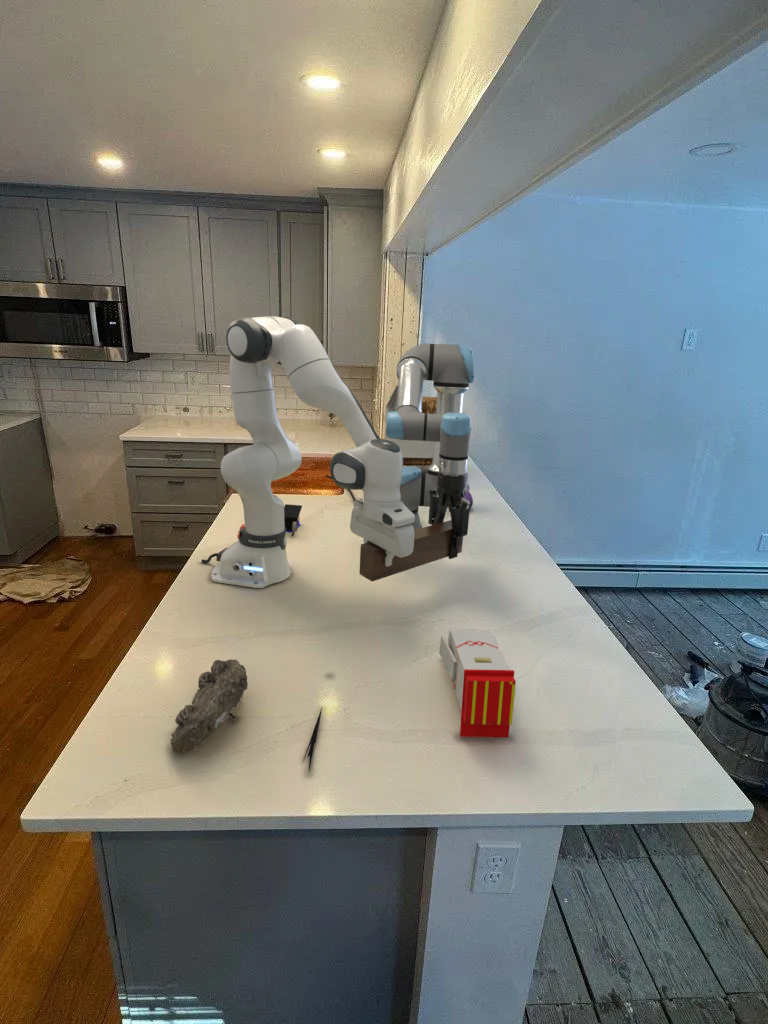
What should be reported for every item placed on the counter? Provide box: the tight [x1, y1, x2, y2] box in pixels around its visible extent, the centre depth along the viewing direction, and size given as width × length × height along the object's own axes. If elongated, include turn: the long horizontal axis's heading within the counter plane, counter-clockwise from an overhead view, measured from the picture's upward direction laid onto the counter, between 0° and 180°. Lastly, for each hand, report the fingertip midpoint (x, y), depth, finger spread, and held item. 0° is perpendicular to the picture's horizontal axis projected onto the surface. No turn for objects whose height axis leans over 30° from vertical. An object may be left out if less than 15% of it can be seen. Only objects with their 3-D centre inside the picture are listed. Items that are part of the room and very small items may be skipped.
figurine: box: [460, 472, 474, 511], centre depth 225 cm, size 9×10×15 cm
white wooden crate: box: [384, 384, 437, 467], centre depth 268 cm, size 34×33×41 cm
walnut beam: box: [359, 519, 464, 582], centre depth 148 cm, size 5×32×8 cm, turn 130°
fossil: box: [170, 658, 249, 753], centre depth 106 cm, size 22×10×15 cm
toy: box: [438, 628, 517, 738], centre depth 117 cm, size 12×13×30 cm
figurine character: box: [284, 503, 303, 537], centre depth 197 cm, size 7×8×15 cm
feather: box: [301, 673, 332, 771], centre depth 108 cm, size 2×28×2 cm
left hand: (378, 560), depth 140 cm, fingers closed on walnut beam, 5 cm apart
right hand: (445, 553), depth 157 cm, fingers closed on walnut beam, 5 cm apart
